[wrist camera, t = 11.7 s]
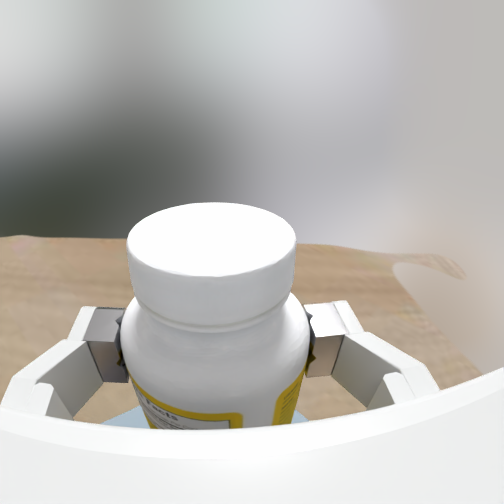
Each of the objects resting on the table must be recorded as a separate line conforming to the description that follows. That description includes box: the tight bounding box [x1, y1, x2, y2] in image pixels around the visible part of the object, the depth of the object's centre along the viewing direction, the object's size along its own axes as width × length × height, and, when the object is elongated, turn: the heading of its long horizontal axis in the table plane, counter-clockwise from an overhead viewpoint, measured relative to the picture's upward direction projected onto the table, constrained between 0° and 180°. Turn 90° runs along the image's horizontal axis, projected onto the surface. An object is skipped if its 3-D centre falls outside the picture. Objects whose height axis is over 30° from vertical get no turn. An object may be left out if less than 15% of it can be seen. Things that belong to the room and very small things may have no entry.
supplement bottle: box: [120, 203, 310, 430], centre depth 10 cm, size 5×5×10 cm
